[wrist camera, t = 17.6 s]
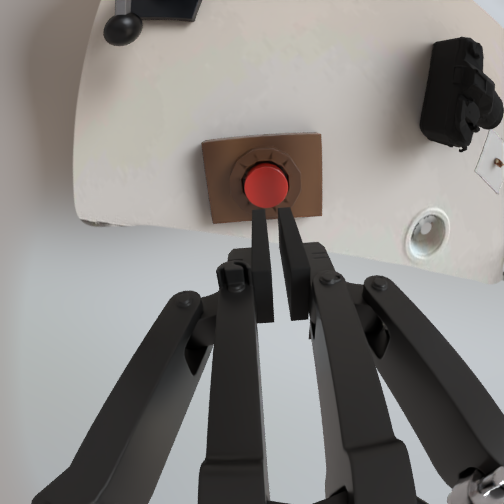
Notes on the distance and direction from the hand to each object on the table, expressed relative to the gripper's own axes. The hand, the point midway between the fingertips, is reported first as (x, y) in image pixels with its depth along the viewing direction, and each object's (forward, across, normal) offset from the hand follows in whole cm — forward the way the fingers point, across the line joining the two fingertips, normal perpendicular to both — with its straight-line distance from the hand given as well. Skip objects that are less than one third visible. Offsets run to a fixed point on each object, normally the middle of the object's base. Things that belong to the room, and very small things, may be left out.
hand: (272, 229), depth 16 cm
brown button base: (+14, 0, 0) cm, 14 cm away
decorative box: (+15, +36, +3) cm, 39 cm away
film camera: (+15, +25, +11) cm, 31 cm away
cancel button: (+11, 0, 0) cm, 11 cm away
